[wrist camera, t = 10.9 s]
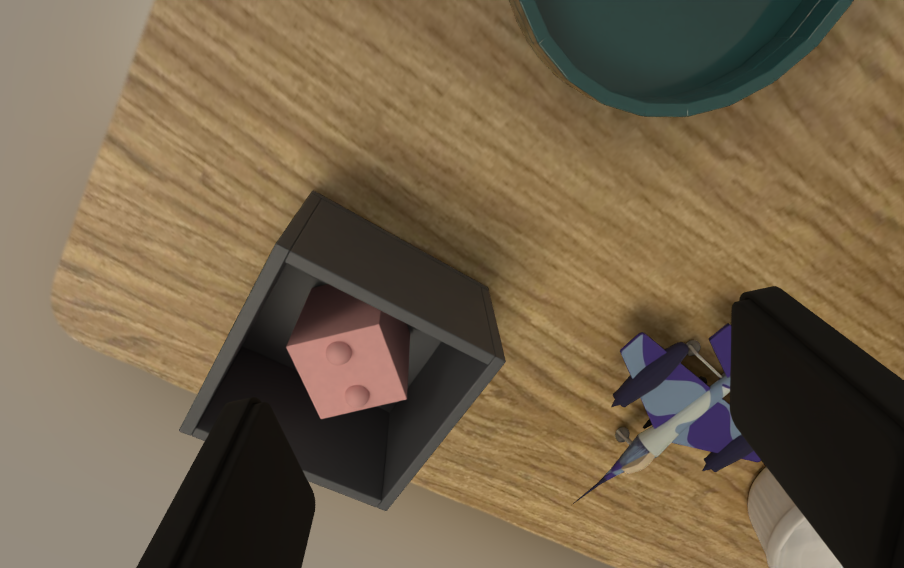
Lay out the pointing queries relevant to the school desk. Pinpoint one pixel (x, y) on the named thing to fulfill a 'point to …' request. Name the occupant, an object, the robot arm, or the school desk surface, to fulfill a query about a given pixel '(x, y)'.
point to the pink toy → (349, 353)
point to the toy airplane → (678, 405)
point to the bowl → (673, 47)
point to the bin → (391, 291)
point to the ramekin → (785, 528)
